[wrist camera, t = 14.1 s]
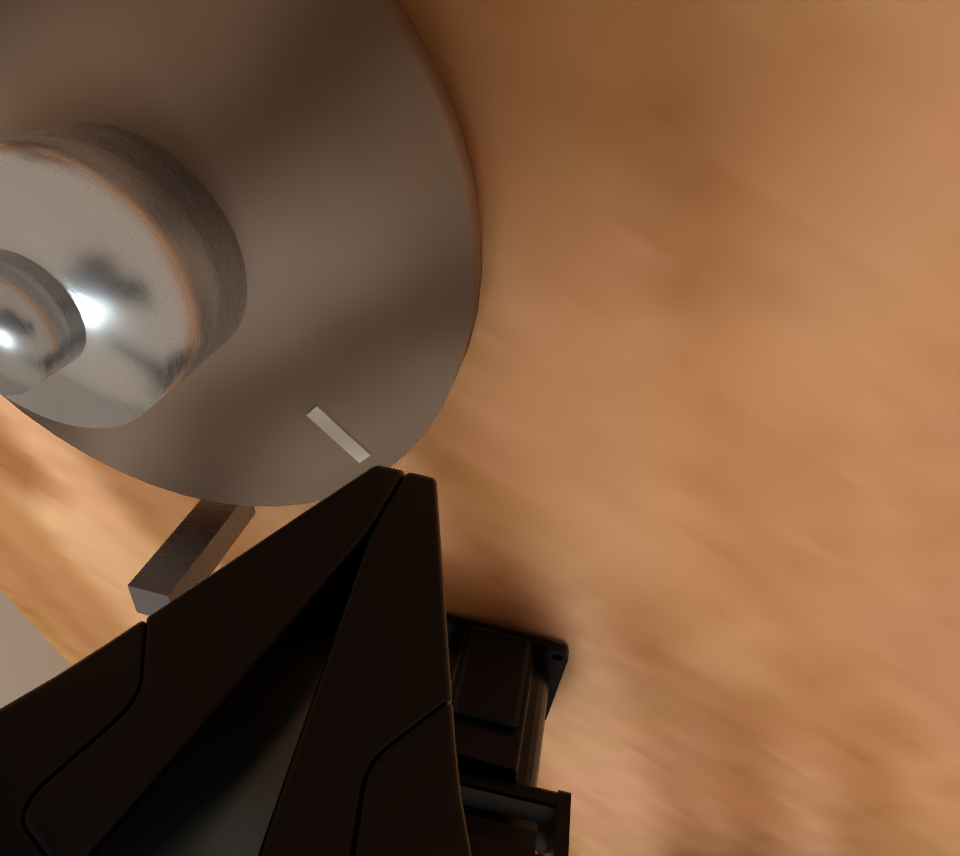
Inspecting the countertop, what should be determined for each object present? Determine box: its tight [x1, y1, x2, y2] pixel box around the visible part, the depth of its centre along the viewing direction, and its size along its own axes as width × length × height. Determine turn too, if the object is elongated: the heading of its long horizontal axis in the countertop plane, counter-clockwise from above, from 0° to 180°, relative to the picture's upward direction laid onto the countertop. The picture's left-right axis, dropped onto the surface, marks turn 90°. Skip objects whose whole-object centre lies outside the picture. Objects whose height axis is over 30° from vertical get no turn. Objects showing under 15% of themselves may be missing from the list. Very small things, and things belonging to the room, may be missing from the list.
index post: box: [128, 499, 255, 616], centre depth 25 cm, size 2×2×6 cm
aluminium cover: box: [0, 122, 247, 428], centre depth 16 cm, size 7×7×6 cm
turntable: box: [0, 0, 482, 506], centre depth 17 cm, size 20×20×5 cm
